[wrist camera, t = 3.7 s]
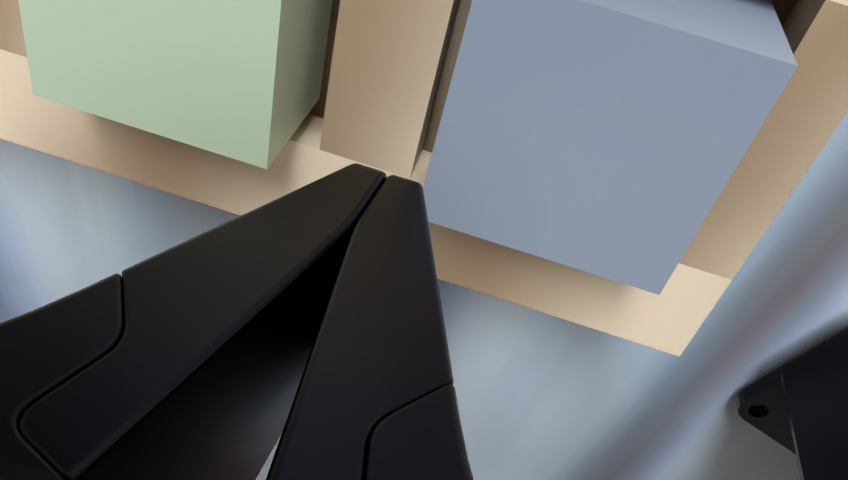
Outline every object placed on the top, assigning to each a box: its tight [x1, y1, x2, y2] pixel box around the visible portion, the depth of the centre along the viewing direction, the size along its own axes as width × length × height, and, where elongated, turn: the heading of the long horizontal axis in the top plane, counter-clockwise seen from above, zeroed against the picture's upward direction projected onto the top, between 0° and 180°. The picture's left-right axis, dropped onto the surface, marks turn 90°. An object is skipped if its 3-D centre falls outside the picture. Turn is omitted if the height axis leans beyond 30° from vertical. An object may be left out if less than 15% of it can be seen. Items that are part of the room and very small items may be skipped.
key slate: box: [423, 0, 798, 295], centre depth 11 cm, size 4×4×2 cm
